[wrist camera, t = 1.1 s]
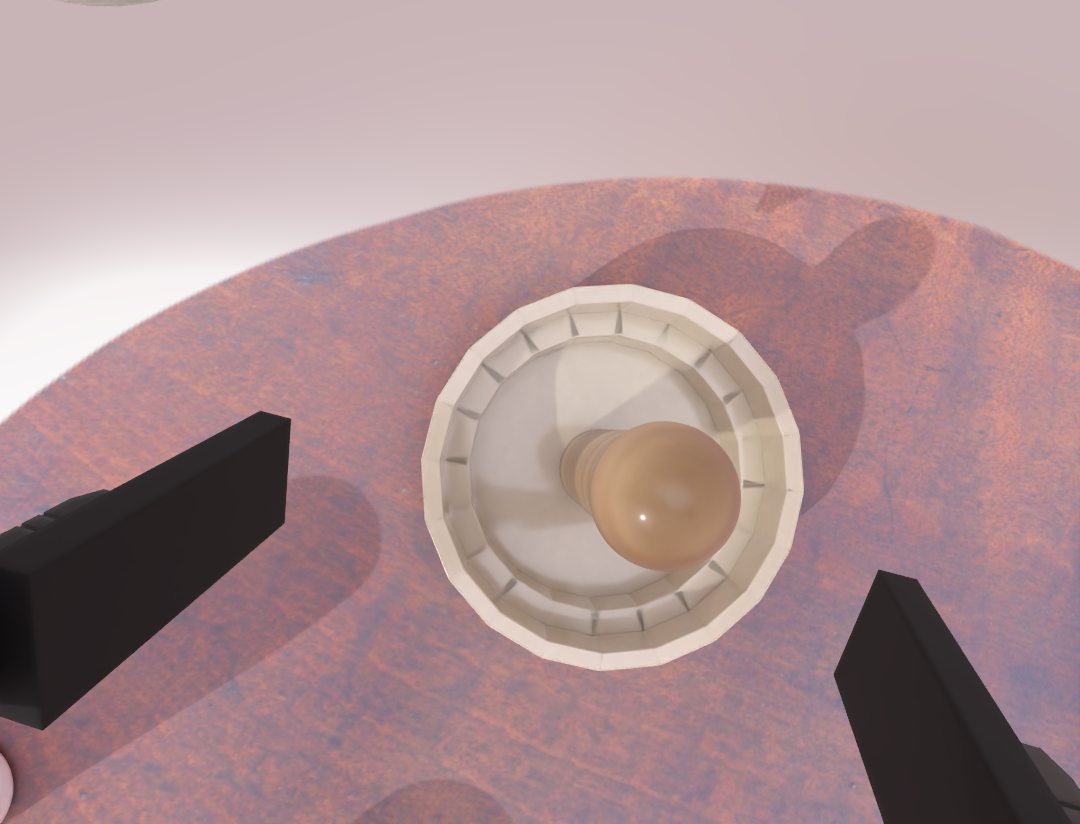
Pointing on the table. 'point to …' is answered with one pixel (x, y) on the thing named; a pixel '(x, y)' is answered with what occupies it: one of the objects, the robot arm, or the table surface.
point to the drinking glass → (5, 787)
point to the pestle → (655, 492)
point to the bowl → (559, 521)
